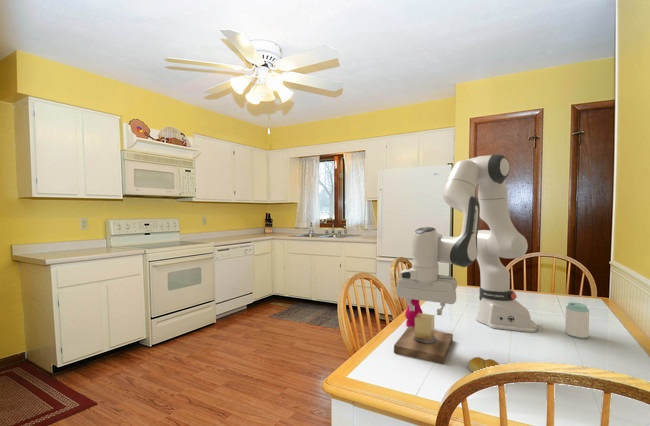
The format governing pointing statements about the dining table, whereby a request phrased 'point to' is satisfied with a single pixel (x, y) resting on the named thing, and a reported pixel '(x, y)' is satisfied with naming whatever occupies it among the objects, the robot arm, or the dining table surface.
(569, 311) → the can
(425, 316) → the wooden cube block
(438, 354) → the walnut board
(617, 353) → the dining table surface
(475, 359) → the bread roll
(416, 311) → the pepper mill
